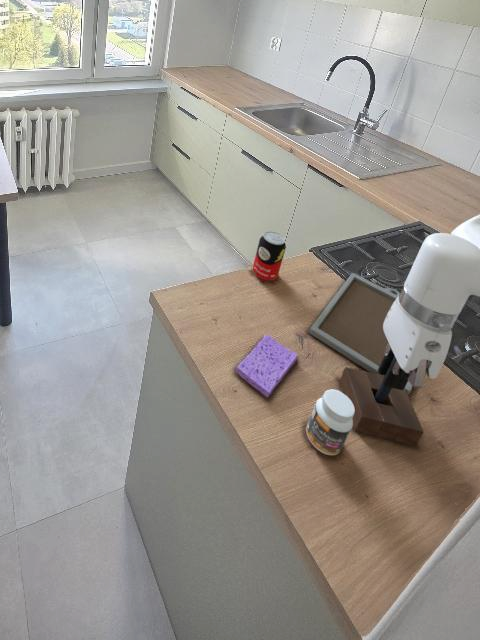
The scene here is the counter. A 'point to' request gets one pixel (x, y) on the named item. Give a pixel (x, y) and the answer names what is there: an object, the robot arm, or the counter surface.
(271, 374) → the sponge
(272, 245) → the beverage can
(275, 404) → the counter surface
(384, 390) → the peg
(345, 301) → the grey-rimmed serving tray
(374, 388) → the dock
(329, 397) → the pill bottle
